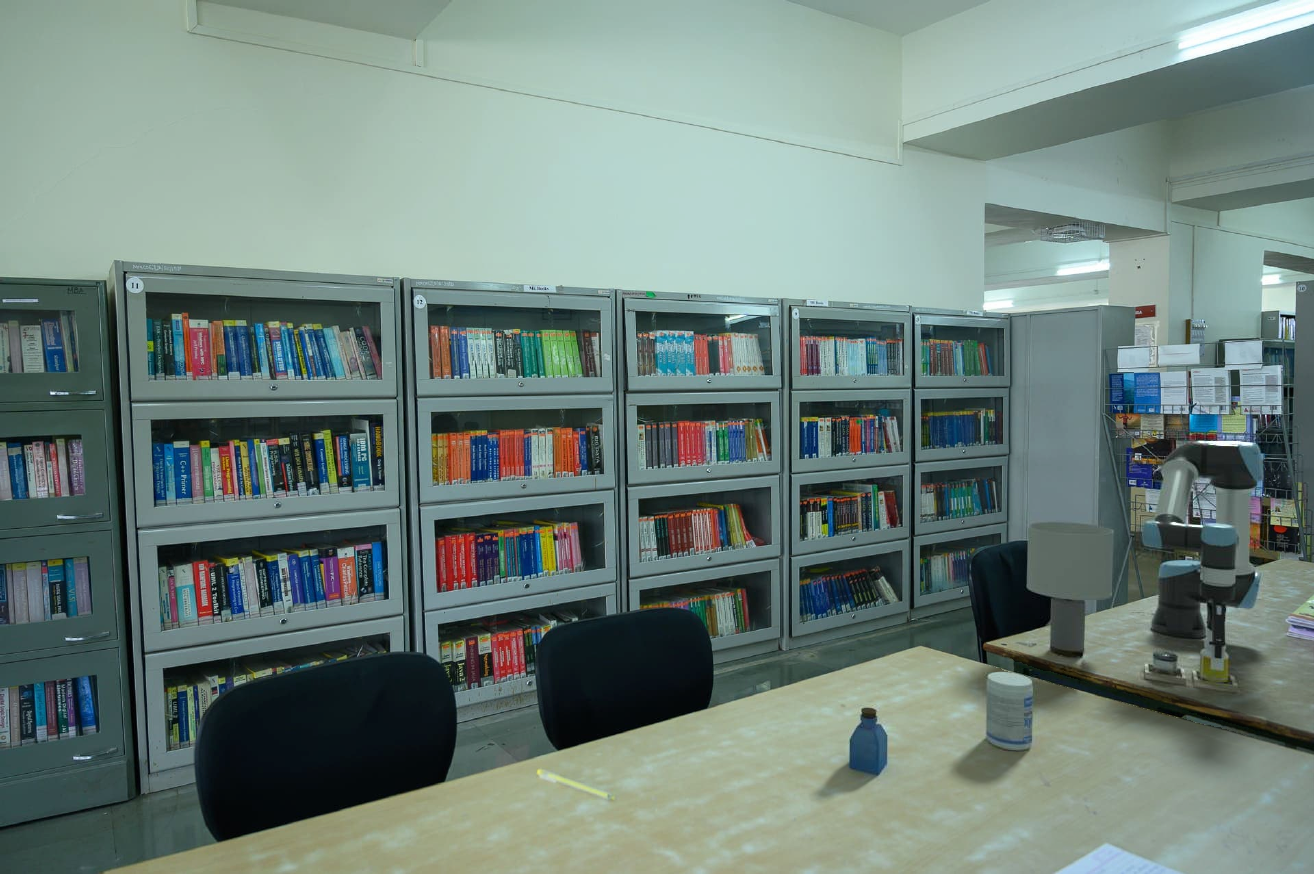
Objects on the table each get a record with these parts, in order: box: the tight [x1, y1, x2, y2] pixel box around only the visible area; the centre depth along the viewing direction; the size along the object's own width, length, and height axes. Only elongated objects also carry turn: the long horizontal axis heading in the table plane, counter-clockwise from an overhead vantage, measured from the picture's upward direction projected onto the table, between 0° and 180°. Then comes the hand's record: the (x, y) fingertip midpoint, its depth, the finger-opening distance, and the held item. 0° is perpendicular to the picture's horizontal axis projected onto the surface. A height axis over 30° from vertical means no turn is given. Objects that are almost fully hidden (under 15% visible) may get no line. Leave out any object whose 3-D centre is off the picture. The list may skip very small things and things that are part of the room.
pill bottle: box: [1199, 639, 1230, 684], centre depth 208 cm, size 6×6×11 cm
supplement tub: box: [985, 671, 1034, 751], centre depth 177 cm, size 10×10×15 cm
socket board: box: [1140, 662, 1243, 695], centre depth 212 cm, size 11×22×3 cm, turn 59°
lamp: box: [1026, 521, 1115, 658], centre depth 237 cm, size 23×23×38 cm
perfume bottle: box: [848, 707, 888, 777], centre depth 166 cm, size 6×6×12 cm
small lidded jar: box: [1152, 650, 1179, 676], centre depth 214 cm, size 6×6×6 cm
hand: (1214, 661), depth 209 cm, fingers open, 13 cm apart
